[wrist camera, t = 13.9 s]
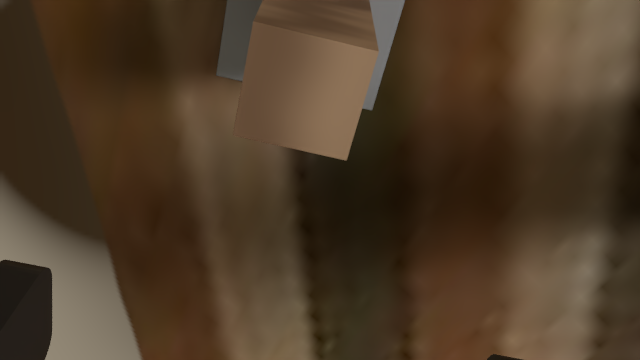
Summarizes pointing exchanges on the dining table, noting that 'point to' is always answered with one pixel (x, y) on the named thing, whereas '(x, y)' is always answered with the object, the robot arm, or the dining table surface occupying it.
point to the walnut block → (307, 74)
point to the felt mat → (239, 26)
